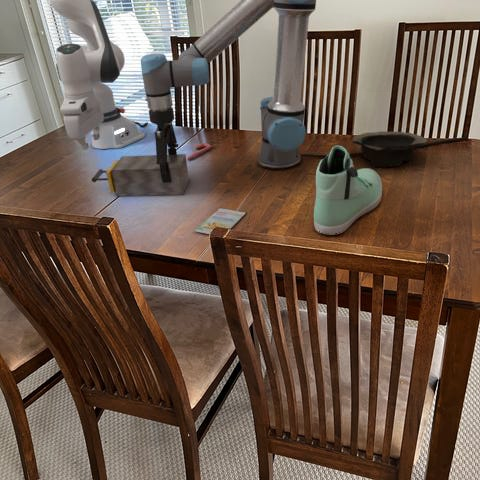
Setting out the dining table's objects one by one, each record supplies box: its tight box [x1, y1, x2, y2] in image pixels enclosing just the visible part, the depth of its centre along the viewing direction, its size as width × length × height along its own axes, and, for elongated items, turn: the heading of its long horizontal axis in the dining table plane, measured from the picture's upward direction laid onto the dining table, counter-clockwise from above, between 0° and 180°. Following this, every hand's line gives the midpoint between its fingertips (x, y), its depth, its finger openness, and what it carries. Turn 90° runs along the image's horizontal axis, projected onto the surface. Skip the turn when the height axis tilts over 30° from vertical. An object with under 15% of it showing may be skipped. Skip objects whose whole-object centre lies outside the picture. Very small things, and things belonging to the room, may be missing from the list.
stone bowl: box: [351, 131, 429, 168], centre depth 166 cm, size 25×25×9 cm
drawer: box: [91, 159, 119, 194], centre depth 159 cm, size 27×10×7 cm, turn 85°
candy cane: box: [186, 143, 212, 161], centre depth 185 cm, size 6×15×2 cm, turn 145°
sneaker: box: [313, 145, 383, 236], centre depth 133 cm, size 14×35×20 cm, turn 152°
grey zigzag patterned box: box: [111, 153, 190, 198], centre depth 158 cm, size 22×12×9 cm, turn 85°
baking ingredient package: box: [194, 207, 246, 235], centre depth 137 cm, size 9×1×15 cm
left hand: (91, 144), depth 155 cm, fingers open, 8 cm apart
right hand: (170, 174), depth 157 cm, fingers closed on grey zigzag patterned box, 11 cm apart
